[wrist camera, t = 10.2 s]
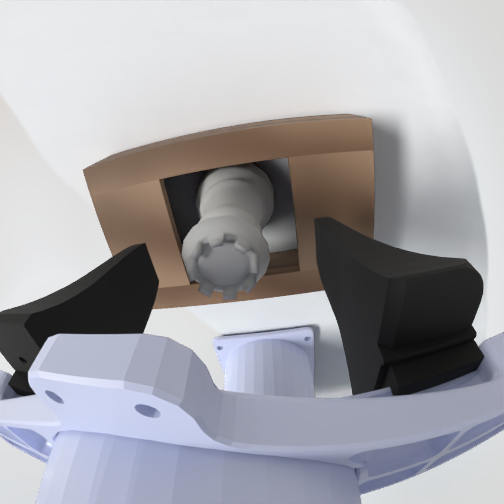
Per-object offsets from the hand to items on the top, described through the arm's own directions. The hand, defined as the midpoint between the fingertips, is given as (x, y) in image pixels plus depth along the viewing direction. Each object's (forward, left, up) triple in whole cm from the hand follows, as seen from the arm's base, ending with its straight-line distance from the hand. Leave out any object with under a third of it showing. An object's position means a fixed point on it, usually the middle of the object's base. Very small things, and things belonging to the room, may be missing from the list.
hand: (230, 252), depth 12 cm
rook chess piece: (+1, 0, -6) cm, 6 cm away
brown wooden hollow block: (0, 0, -6) cm, 6 cm away
